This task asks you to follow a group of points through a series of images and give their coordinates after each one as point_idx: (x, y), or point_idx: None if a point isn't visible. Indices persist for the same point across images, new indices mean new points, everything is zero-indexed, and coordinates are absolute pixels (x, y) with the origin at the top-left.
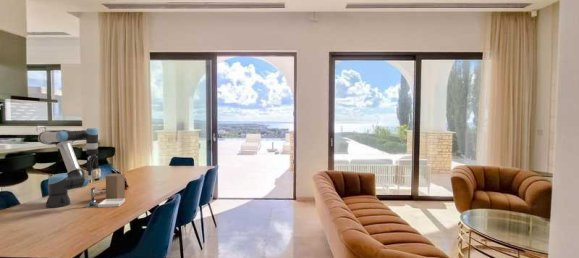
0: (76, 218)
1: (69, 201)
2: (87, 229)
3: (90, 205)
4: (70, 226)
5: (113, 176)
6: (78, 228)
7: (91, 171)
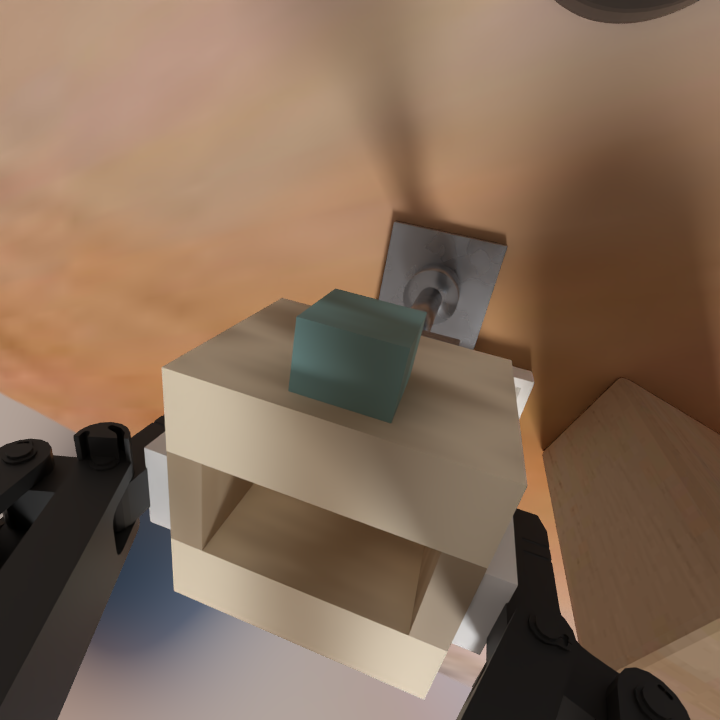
0: (148, 226)
1: (618, 8)
2: (4, 314)
3: (414, 273)
4: (30, 226)
5: (628, 655)
6: (10, 273)
7: (157, 505)
